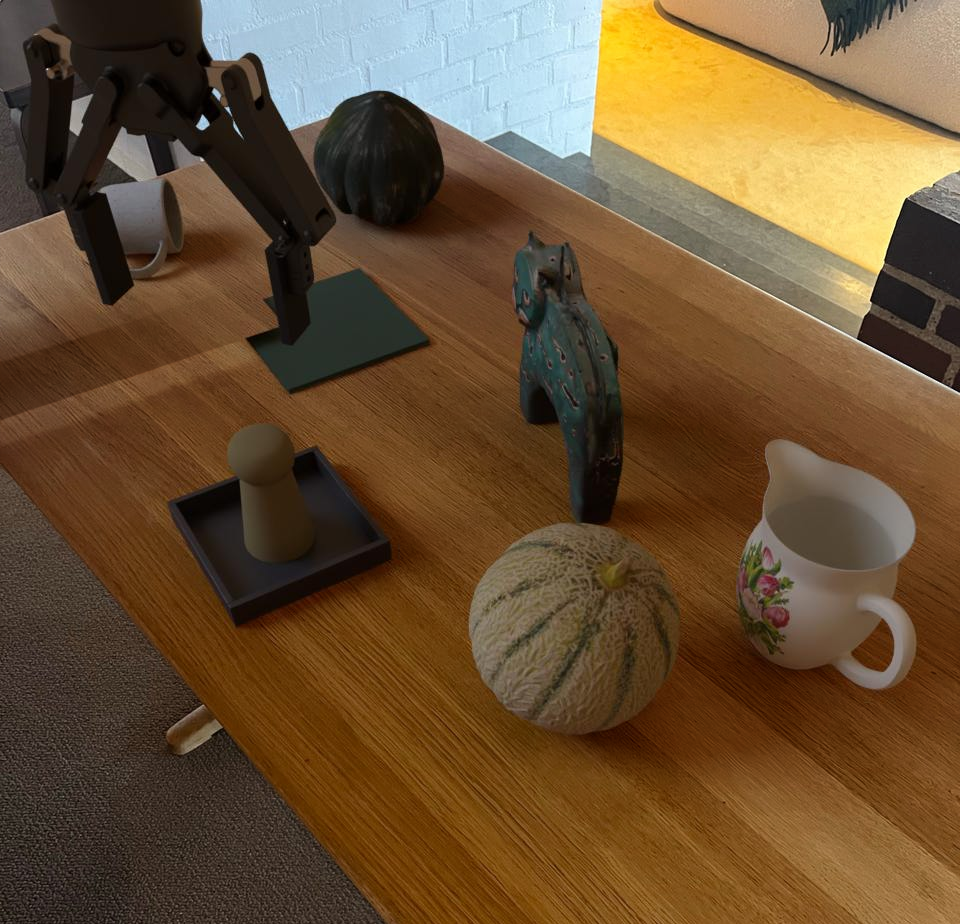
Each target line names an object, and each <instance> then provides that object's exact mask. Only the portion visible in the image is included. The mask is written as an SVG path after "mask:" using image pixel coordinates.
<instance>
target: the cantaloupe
mask: <svg viewBox="0 0 960 924" xmlns="http://www.w3.org/2000/svg"><path fill="white" fill-rule="evenodd" d="M678 601H679V600H678V596H677V593H676V590H675V589H674V587H673V585H672V583H671V581H670V579H669V578H668V576H667V574H666V572H665V571H664V569H663V567H662V565H661V564H660V562H659V561H658V560H657V559H656V557H655V556H654V555H653V554H652V553H650V552H649V551H648V550H647V548H645V547H644V546H642V545H641V544H640V543H638V542H635V541H633V540H631V539H629V538H628V537H626V536H624V535H623V534H622V533H620V532H618V531H616V530H614V529H612V528H611V527H607V526H602V525H598V524H586V523H578V522H575V523H572V522H559V523H555V524H551V525H549V526H543V527H541V528H539V529H535V530H534V531H532V532H530V533H527V534H525V535H524V536H522V537H521V538H519V539H518V540H517V541H514V542H513V543H511V544H510V546H508V548H507V549H506V550H505V551H504V552H503V553H502V554H501V555H500V556H499V558H497V559H496V560H495V562H493V564H491V566H489V568H488V569H487V570H486V572H485V573H484V575H483V576H482V577H481V579H480V580H479V582H478V584H477V586H476V588H475V589H474V593H473V597H472V600H471V603H470V608H469V610H470V611H469V616H468V630H469V631H468V636H469V638H470V641H471V651H472V657H473V659H474V662H475V665H476V669H477V671H478V673H479V675H480V677H481V679H482V681H483V683H484V684H485V685H486V686H487V687H488V688H489V689H490V691H492V692H493V693H494V695H495V697H496V699H497V700H498V702H499V703H501V705H503V706H504V708H505V709H506V710H507V711H508V712H511V713H512V714H514V715H515V716H517V717H518V718H521V719H523V720H525V721H528V722H530V723H531V724H532V725H535V726H537V727H539V728H541V729H544V730H546V731H550V732H554V733H558V734H563V735H578V736H579V735H586V734H590V733H593V732H599V731H607V730H610V729H613V728H615V727H618V726H619V725H620V724H622V723H625V722H627V721H629V720H630V719H631V718H634V717H637V716H638V715H639V713H640V712H641V711H643V710H644V708H646V707H647V705H649V703H651V701H652V700H653V698H654V697H655V696H656V695H657V693H658V692H659V690H660V689H661V688H662V686H663V685H664V684H665V682H666V681H667V679H668V678H669V676H670V674H671V672H672V671H673V668H674V664H675V661H676V659H677V657H678V652H679V646H680V645H679V644H680V641H681V639H680V637H681V636H680V632H681V631H680V630H681V629H680V620H681V613H680V612H681V611H680V605H679V602H678Z"/></svg>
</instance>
